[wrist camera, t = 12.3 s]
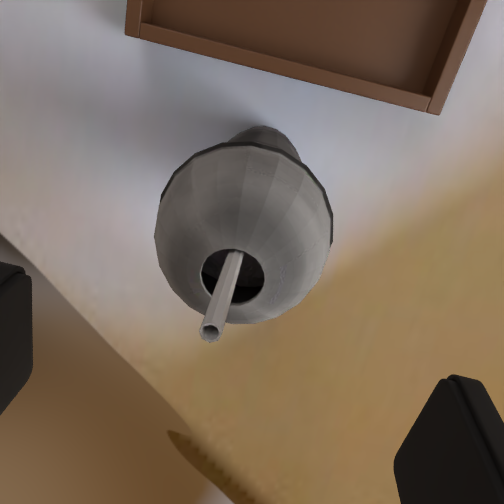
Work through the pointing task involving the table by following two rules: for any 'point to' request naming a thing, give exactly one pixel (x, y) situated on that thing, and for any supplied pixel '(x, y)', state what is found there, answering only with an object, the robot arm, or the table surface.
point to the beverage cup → (243, 230)
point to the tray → (325, 41)
